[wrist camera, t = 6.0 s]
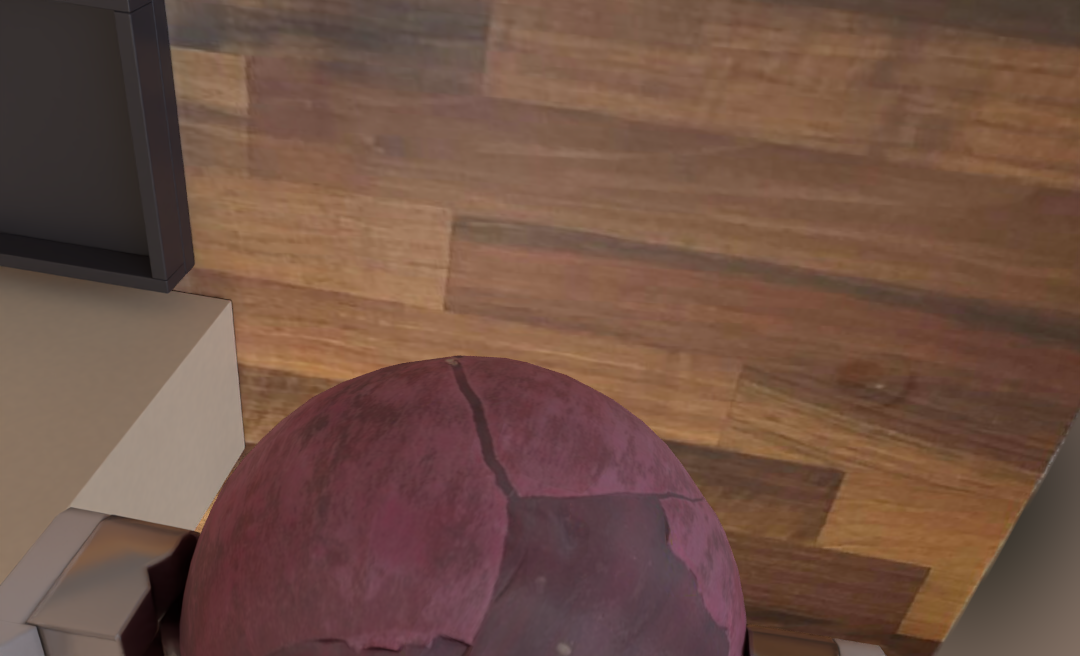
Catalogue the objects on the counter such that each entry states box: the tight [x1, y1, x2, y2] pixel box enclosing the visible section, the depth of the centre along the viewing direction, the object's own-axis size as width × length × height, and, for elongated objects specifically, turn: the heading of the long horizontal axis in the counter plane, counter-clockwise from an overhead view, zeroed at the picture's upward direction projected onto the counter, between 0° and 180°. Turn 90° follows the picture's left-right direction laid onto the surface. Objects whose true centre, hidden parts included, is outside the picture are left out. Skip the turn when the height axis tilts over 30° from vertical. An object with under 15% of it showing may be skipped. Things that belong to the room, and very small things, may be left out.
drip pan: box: [0, 0, 194, 294], centre depth 34 cm, size 11×11×2 cm
